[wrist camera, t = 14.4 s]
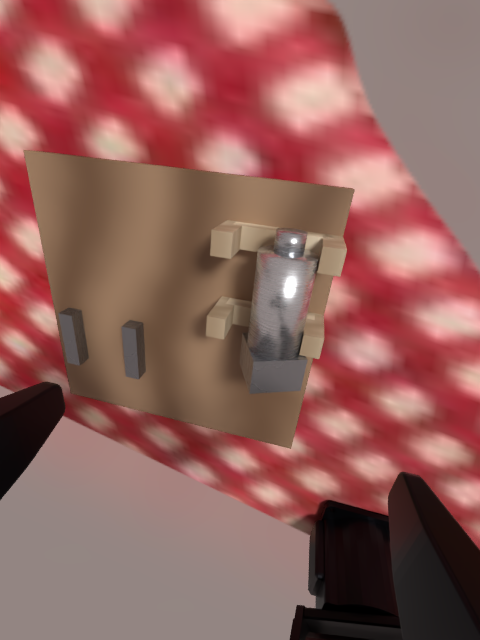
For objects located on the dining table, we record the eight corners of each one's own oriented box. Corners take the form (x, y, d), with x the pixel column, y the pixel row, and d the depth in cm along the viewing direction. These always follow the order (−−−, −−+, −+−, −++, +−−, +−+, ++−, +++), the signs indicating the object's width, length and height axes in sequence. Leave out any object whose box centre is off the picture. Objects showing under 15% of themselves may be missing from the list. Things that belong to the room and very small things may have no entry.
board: (353, 188, 15) (354, 189, 15) (291, 440, 24) (290, 448, 23) (34, 150, 18) (23, 150, 18) (77, 387, 26) (70, 393, 26)
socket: (143, 322, 21) (135, 329, 20) (145, 371, 23) (139, 379, 22) (68, 307, 22) (58, 313, 21) (76, 355, 24) (67, 362, 23)
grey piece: (284, 360, 19) (300, 390, 17) (239, 362, 19) (249, 393, 16) (309, 226, 15) (334, 240, 13) (254, 223, 15) (270, 237, 12)
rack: (343, 236, 16) (346, 249, 13) (319, 333, 18) (318, 359, 16) (227, 220, 17) (211, 229, 14) (220, 314, 19) (205, 336, 17)
